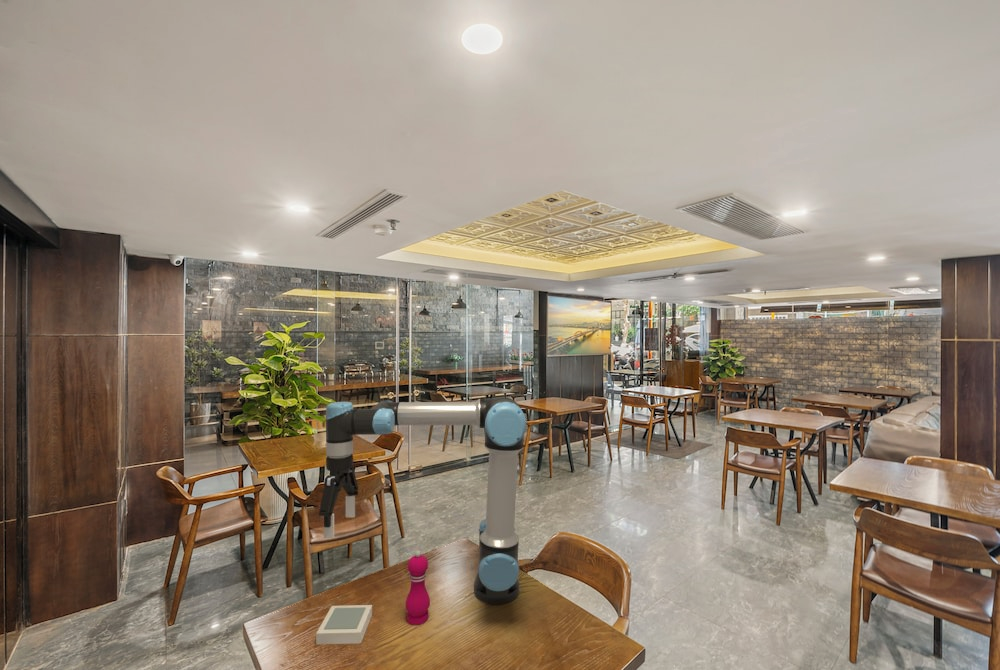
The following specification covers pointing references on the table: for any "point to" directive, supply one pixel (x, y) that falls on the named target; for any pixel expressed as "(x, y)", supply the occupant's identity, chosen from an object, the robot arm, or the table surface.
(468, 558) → the table surface
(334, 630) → the base
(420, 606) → the pepper mill
